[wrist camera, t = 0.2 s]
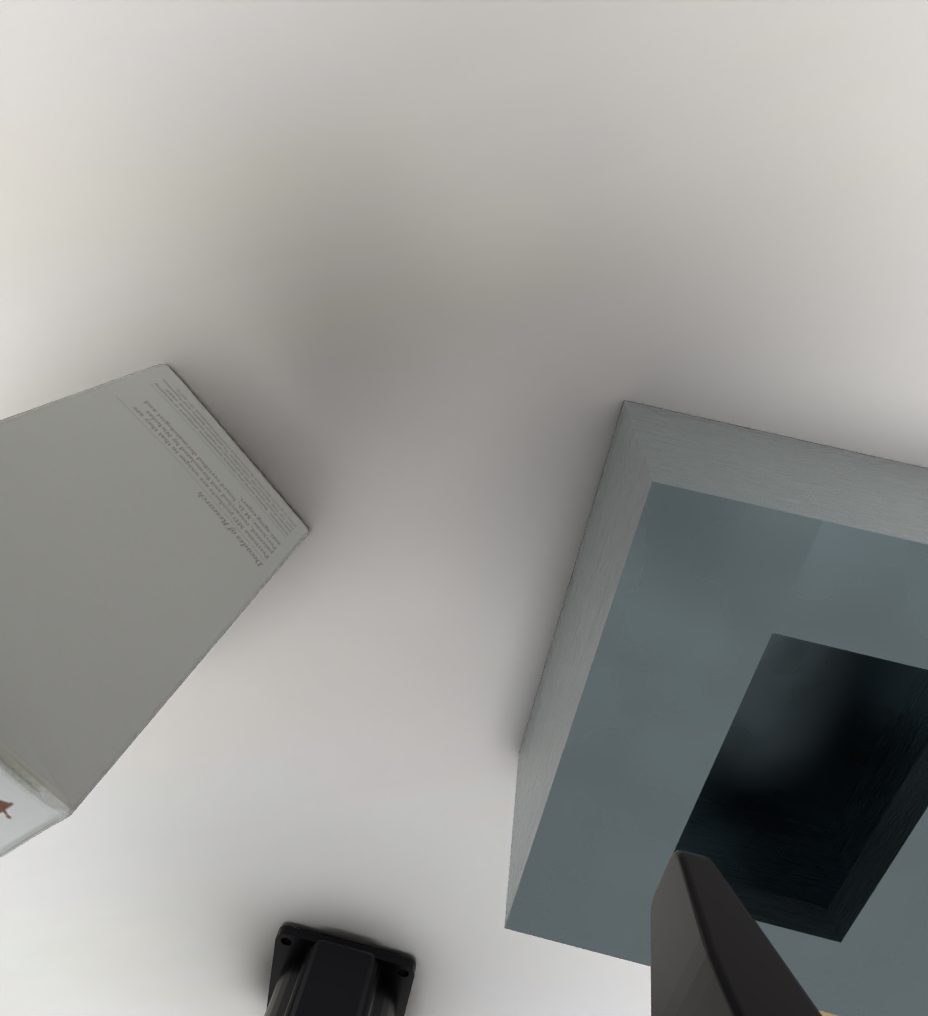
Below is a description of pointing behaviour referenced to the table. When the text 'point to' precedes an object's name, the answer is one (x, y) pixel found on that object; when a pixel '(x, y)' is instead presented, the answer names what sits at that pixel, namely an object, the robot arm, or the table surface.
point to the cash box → (739, 707)
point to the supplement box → (115, 577)
